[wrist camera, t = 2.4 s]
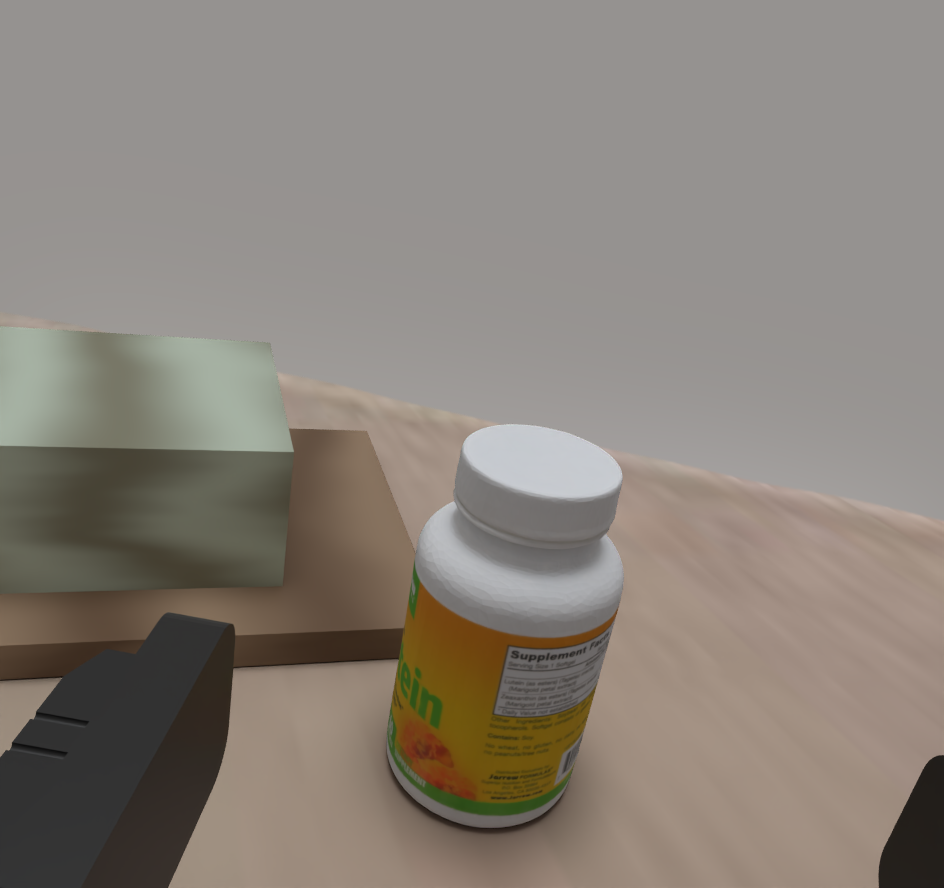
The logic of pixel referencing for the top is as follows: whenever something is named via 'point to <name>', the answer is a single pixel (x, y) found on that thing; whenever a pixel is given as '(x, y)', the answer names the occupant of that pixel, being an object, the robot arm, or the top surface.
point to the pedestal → (183, 507)
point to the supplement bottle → (507, 627)
